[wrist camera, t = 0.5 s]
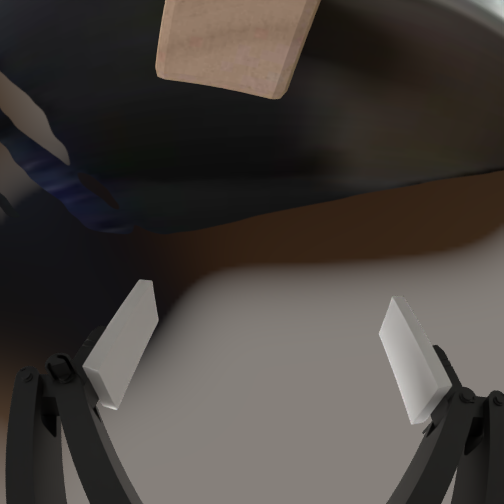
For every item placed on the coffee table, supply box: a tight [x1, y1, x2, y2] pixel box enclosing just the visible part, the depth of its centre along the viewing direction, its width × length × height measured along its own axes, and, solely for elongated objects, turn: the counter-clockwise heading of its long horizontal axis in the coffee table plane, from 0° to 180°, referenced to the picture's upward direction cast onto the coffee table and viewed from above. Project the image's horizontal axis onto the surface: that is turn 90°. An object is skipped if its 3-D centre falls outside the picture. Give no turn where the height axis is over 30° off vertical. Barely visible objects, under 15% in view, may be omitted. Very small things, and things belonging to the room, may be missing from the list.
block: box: [155, 0, 321, 99], centre depth 21 cm, size 10×10×20 cm
